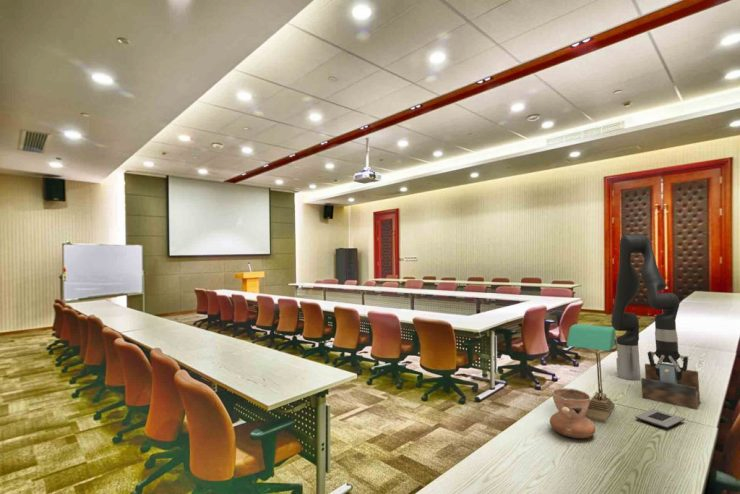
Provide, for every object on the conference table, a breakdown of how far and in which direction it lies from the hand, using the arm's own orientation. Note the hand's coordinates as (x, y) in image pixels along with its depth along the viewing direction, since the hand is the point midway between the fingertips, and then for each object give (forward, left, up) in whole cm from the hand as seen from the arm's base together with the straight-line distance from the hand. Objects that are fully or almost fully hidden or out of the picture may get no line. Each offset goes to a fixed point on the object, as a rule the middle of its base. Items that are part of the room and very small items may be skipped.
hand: (668, 378), depth 157 cm
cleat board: (0, 0, -10) cm, 10 cm away
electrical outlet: (+1, -28, -10) cm, 30 cm away
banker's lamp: (-18, -35, -10) cm, 40 cm away
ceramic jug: (-19, -59, -10) cm, 62 cm away
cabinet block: (0, 0, -5) cm, 5 cm away
